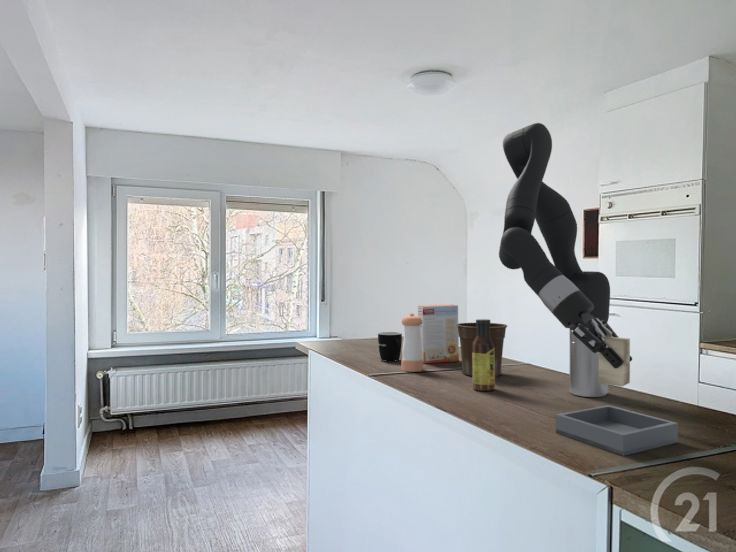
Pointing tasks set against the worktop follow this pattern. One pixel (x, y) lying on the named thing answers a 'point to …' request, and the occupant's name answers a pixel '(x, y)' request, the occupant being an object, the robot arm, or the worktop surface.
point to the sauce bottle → (483, 357)
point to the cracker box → (439, 333)
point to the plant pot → (466, 342)
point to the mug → (390, 345)
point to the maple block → (607, 370)
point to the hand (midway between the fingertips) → (624, 363)
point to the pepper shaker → (412, 344)
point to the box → (617, 429)
